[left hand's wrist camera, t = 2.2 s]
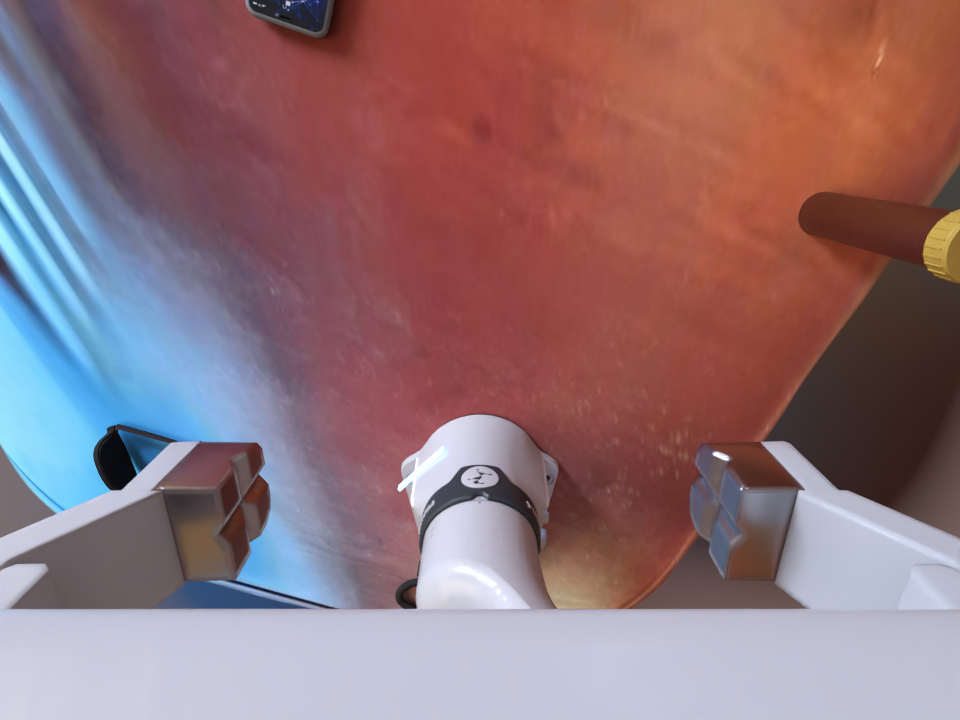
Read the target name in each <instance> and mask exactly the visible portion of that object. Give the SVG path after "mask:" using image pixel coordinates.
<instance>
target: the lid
mask: <svg viewBox="0 0 960 720" xmlns="http://www.w3.org/2000/svg"><path fill="white" fill-rule="evenodd" d="M923 259H924V264H925V265H926V266H927V268H928V271H931V272H932V273H933V274H934V276H937V277H941V278H942V279H945V280H948V281H952V282H955V283H958V284H959V283H960V210H957V211H954V212H951V213H950V214H948V215H947V216H945V217H944V218H942V219H941V220H940V221H939V222H938V223H937V224H936V225H935V226H934V227H933V228H932V230H931V231H930V233H929V234H928V236H927V238H926V241H925V244H924V248H923Z"/></svg>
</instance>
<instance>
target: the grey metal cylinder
mask: <svg viewBox="0 0 960 720" xmlns="http://www.w3.org/2000/svg"><path fill="white" fill-rule="evenodd" d="M951 212H954V211H953V210H946V209H939V208H932V207H925V206H919V205H912V204H905V203H898V202H891V201H884V200H878V199H871V198H864V197H857V196H850V195H844V194H837V193H830V192H820V193H817V194H815V195H813V196H811V197H810V198H808V199H807V200H806V201H805V202H804V204H803V205H802V207H801V209H800V212H799V224H800V226H801V228H802V230H803V231H805V232H806V233H808V234H811V235H814V236H818V237H821V238H825V239H828V240H832V241H835V242H839V243H843V244H846V245H850V246H853V247H857V248H860V249H864V250H867V251H871V252H874V253H878V254H882V255H885V256H889V257H892V258H896V259H900V260H903V261H906V262H910V263H914V264H917V265H920V266H924V267H927V266H926V265H925V264H924V259H923V248H924V244H925V241H926V238H927V236H928V234H929V233H930V231H931V230H932V228H933V227H934V226H935V225H936V224H937V223H938V222H939V221H940V220H941V219H942V218H944V217H945V216H947V215H948V214H950V213H951Z"/></svg>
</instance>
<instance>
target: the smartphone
mask: <svg viewBox="0 0 960 720" xmlns="http://www.w3.org/2000/svg"><path fill="white" fill-rule="evenodd" d="M334 2H335V0H246V5H247V8H248V10H249V12H250V13H251V14H252V15H253V16H255V17H257V18H259V19H262V20H265V21H268V22H271V23H274V24H277V25H280V26H282V27H285V28H288V29H291V30H294V31H297V32H300V33H303V34H306V35H309V36H311V37H314V38H322V37H324V36H325V35H326V34H327V33H328V30H329V26H330V20H331V16H332V14H333V4H334Z"/></svg>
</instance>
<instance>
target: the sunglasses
mask: <svg viewBox="0 0 960 720" xmlns="http://www.w3.org/2000/svg"><path fill="white" fill-rule="evenodd" d="M119 429H120V430H124V431H128V432H131V433H135V434H139V435H142V436H146V437H150V438H153V439H157V440H160V441H164V442H167V443H173V442H179V441H176V440H173V439H169V438H166V437H163V436H160V435H156V434H153V433H149V432H146V431H142V430H138V429H135V428H131V427H127V426H123V425H119V424H118V425H114V426H110V427H108V428H107V434H106V435H105V436H104V437H103V438H101V439H100V440H99V442H98V443H97V445H96V446H95V449H94V454H93V457H94V462H95V465H96V468H97V470H98V473H99V475H100V477H101V479H102V480H103V482H104V483H105V485H106V486H107V487H108V488H109V489H110V490H112V491H116V490H122V489H123V488H124V487H125V486H127V485H128V484H129V483H130V482H131V481H132V480H133V479H134V478H135V477H136V476H137V473H136V471H135V468H134V466H133V463H132V461H131V458H130V456H129V453H128V451H127V449H126V447H125V444H124V442H123V441H122V439H121V437H120V435H119V433H118V430H119Z"/></svg>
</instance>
